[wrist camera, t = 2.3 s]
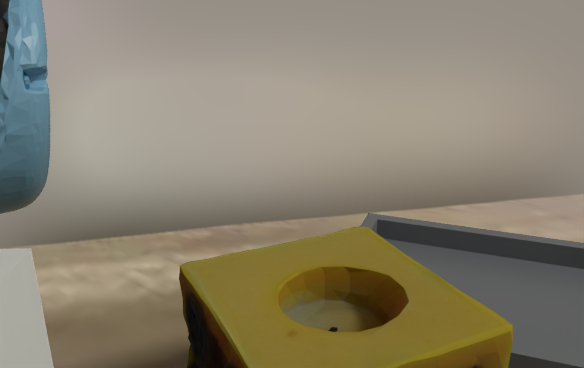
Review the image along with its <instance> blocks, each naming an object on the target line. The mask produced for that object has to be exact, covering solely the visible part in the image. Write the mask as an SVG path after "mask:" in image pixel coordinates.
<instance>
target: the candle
mask: <svg viewBox="0 0 584 368" xmlns="http://www.w3.org/2000/svg"><path fill="white" fill-rule="evenodd" d="M179 281H180V286H181V291H182V296H183V315H184V318H185V321H186V324H187V327H188V332H189V336H188V339H189V341H190V343H191V346H190V350H189V360H188V365H187V368H508V366H509V360H510V355H511V350H512V344H513V325H512V324H511V323H509V322H508V321H507V320H505V319H504V318H502V317H501V316H500V315H498V314H497V313H496V312H494V311H493V310H491V309H490V308H488V307H486V306H485V305H483V304H481V303H480V302H478V301H477V300H475V299H473V298H472V297H470V296H468V295H467V294H465V293H463V292H462V291H460V290H459V289H457V288H455V287H454V286H452V285H451V284H449V283H448V282H447V281H445V280H444V279H442V278H441V277H439V276H438V275H437V274H435V273H434V272H432V271H430V270H429V269H427V268H426V267H424V266H423V265H421V264H420V263H418V262H417V261H415V260H413V259H412V258H410V257H409V256H407V255H406V254H404V253H403V252H401V251H400V250H398V249H397V248H396V247H394V246H393V245H392V244H390V243H389V242H388V241H386V240H385V239H384V238H382V237H381V236H379V235H378V234H377V233H375V232H374V231H373V230H371V229H370V228H369V227H353V228H350V229H346V230H342V231H338V232H335V233H331V234H327V235H323V236H316V237H310V238H304V239H300V240H296V241H292V242H287V243H283V244H278V245H273V246H269V247H264V248H259V249H253V250H247V251H242V252H236V253H231V254H226V255H222V256H218V257H214V258H209V259H204V260H197V261H191V262H187V263H185V264H183V265H181V266H180V275H179Z"/></svg>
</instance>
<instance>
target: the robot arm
mask: <svg viewBox="0 0 584 368" xmlns="http://www.w3.org/2000/svg"><path fill="white" fill-rule="evenodd" d="M46 78H47V44H46V33H45V23H44V15H43V8H42V1H41V0H0V214H1V213H6V212H11V211H15V210H18V209H21V208H23V207H26V206H27V205H29V204H31V203H32V202H33V201H34V200H36V198H37V197H38V196H39V195H40V193H41V192H42V190H43V188H44V186H45V183H46V180H47V175H48V167H49V156H50V102H49V89H48V85H47V82H46ZM0 368H54V367H53V362H52V357H51V351H50V346H49V341H48V335H47V330H46V325H45V319H44V314H43V309H42V304H41V298H40V293H39V288H38V282H37V277H36V272H35V266H34V261H33V256H32V250H31V248H28V249H0Z"/></svg>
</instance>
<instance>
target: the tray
mask: <svg viewBox="0 0 584 368" xmlns="http://www.w3.org/2000/svg"><path fill="white" fill-rule="evenodd" d="M360 227H369V228H370V229H371V230H373V231H374V232H375V233H377V234H378V235H379V236H381V237H382V238H384V239H385V240H386V241H388V242H389V243H390V244H392V245H393V246H394V247H396V248H397V249H398V250H400V251H401V252H403V253H404V254H406V255H407V256H409V257H410V258H412V259H413V260H415V261H417V262H418V263H420V264H421V265H423V266H424V267H426V268H427V269H429V270H430V271H432V272H434V273H435V274H437V275H438V276H439V277H441V278H442V279H444V280H445V281H447V282H448V283H449V284H451V285H452V286H454V287H455V288H457V289H459V290H460V291H462V292H463V293H465V294H467V295H468V296H470V297H472V298H473V299H475V300H477V301H478V302H480V303H481V304H483V305H485V306H486V307H488V308H490V309H491V310H493V311H494V312H496V313H497V314H498V315H500V316H501V317H502V318H504V319H505V320H507V321H508V322H509V323H511V324H512V325H513V344H512V350H511V355H510V360H509V366H508V368H584V243H579V242H572V241H565V240H558V239H550V238H543V237H536V236H529V235H522V234H514V233H507V232H500V231H493V230H486V229H478V228H471V227H464V226H457V225H450V224H442V223H435V222H428V221H421V220H413V219H406V218H399V217H392V216H385V215H377V214H370V213H368V215H367V217H366V218H365V220H364V221H363V223H362V225H361V226H360Z"/></svg>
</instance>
